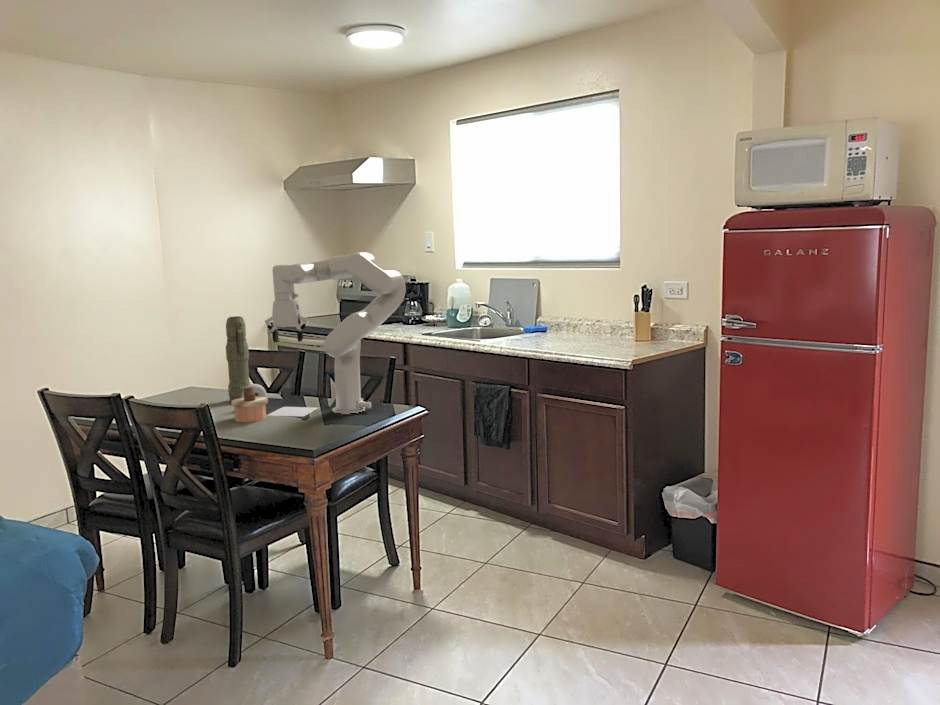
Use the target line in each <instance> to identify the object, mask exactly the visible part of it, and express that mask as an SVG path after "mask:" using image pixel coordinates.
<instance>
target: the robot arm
mask: <svg viewBox="0 0 940 705" xmlns="http://www.w3.org/2000/svg"><path fill="white" fill-rule="evenodd" d="M348 278H354V279H356V280H357V281H358V282H359V283H360V284H362V285H364V286H365V287H367V288H368V289H369V290H371V291H372V292H374V293H376V294H378V295H377V296H376V297H374V299H373V300H371V302H370V303H369V304H368V305H366V307H364V308H363V309H362V310H360V311H357V312H353V313H351V314H349V315H348V316H346V317H345V318H344V319H342V321H341V322H340V323H339V324H338V325H337V326H336V327H334V329H332V330H331V332H329V333H328V335H326V337H325V339H324V341H323V349H324V351H325V353H326V354H327V355H328V356H329V357H332V358H334V366H333V367H334V386H335V387H334V388H335V390H334V391H335V407H333V408H331V410H332V411H333V412H334V414H336V413H341V414H340V415H351V414H350V413H356V414H360V413H359V412H361V413H363V412H362V411H364V412H365V411H366V410H365V409H366V408H372V402H371V401H364V398H363V397H362V396H361V395H362V394H361V393H362V392H361V391H362V390H361V364H360V363H361V360H360V358H361V347H362V344H361V340H362V339H364V338H366V337H368V336H370V335H372V334H374V332H376V330H377V329H378V328H379V327H380V326H381V325H382V324H383V323H384V322H385V321H387V319H388V318H390V317H391V315H392V314H394V312H395V311H397V309H398V308H399V307H400V306H401V305H402V303H403V301H404V298H405V296H406V292H407V289H406V288H407V286H406V280H405V278H404V276H403V275H402V274H401V273H400V272H399V271H397V270H394V269H386V270H385V269H382V268H380V267H379V266H377V260H376V258H375V256H374V255H373V254H371V253H369V252H365V251H364V252H363V251H362V252H360V251H359V252H353V253H350V254H345V255H344V254H343V255H338V256H332V257H330V258H329V259H326V260H321V261H315V262H314V261H312V262H303V263H295V264H294V263H293V264H278V265H277V264H276V265H274V266H273V267H272V279H273V280H272V281H273V283H272V284H273V292H274V300H273V303H272V312H271V313H272V315H271V316H270V317H269V318H267V319H266V320H264V323H265V325H266V327H267V328H268V330H269V331H270V332H271V334H272V340H273V343H277V342H279V341H280V340H279V339H280V338H279V331H277V330H278V329H279V328H287V327H288V328H289V327H290V328H292V327H295V328H296V330H297V333H296V335H297V336H296V337H297V342H300V343H301V342H302V341H303V339H304V330H305V329H306V327H307V326H308V323H309V321H310V319H308V318H307V317H305V316H303V315H301V308H300V304H299V301H298V299H296V298H298V297H299V294H298V293H296V291H295V286H294V285H300V284H308V283H315V282H322V281H327V280H343V279H348ZM302 321H303V323H302ZM271 322H272V323H271ZM271 324H272V325H271ZM333 412H332V413H333Z"/></svg>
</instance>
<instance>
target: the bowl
mask: <svg viewBox="0 0 940 705" xmlns="http://www.w3.org/2000/svg"><path fill="white" fill-rule="evenodd" d="M266 405H267V404H264V405H261V406H255V407H234V406H233V409H234V420H235V422H239V423H253V422H254V423H256V422H259V421H264V420H265V419H267V416H266V415H267V406H266Z"/></svg>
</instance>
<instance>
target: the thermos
mask: <svg viewBox="0 0 940 705" xmlns="http://www.w3.org/2000/svg"><path fill="white" fill-rule="evenodd" d="M225 322H226V323H225V332H226V334H225V335H226V345H225V355H226V357H225V358H226V361H227V367H228V369H227V370H228V381H229V382H228V386H227V388H228V389H227V390H228V397H229V403H230V402H231V401H232V400H234V399H238V398H241V396H242V392H243V388H246V387H247V386H248V385H251V384H252V383H251V382H250V373H249V372H250V371H249V359H250V353H249V344H248V342H247V337H246V336H247V333H246V332H247V330H246V322H245V320H244V317H242V316H238V315H237V316H229V317H228V318H226V321H225Z"/></svg>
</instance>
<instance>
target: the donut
mask: <svg viewBox="0 0 940 705" xmlns="http://www.w3.org/2000/svg"><path fill="white" fill-rule="evenodd" d="M250 384H251V385H248V386H247V387H254V388H255V394H257V397H266V398H268V395H267V391H266V389H265V388H264V387H263V386H262V385H261V384H258V383H250ZM247 387H246V388H247ZM243 397H244V391H243V392H242V396H241V398H243Z"/></svg>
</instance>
